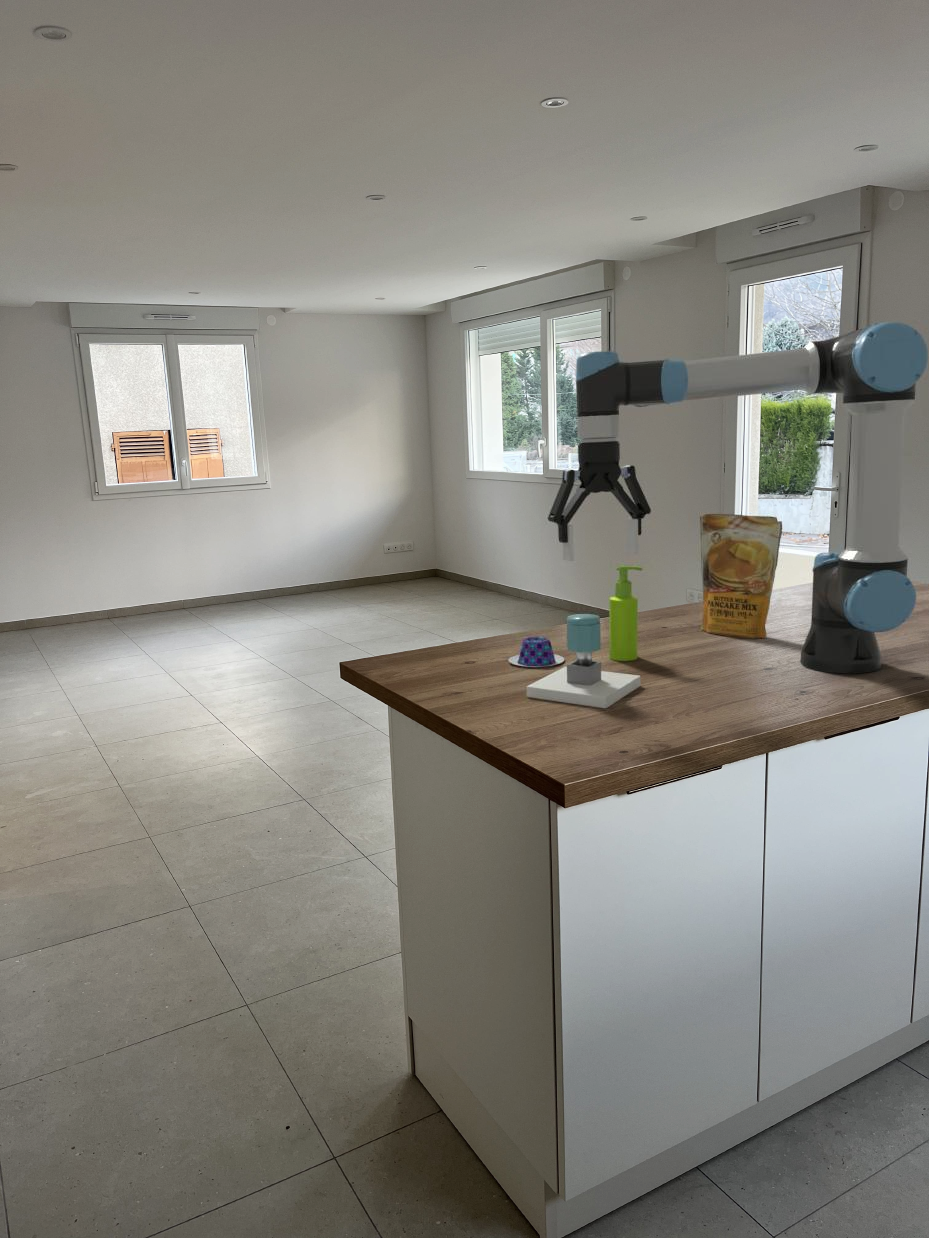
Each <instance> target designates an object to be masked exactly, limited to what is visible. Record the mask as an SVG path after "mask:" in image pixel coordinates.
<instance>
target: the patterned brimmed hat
mask: <svg viewBox="0 0 929 1238" xmlns="http://www.w3.org/2000/svg"><path fill="white" fill-rule="evenodd" d="M508 662H509V663H510V664H512V665H515V666H519V667H525V668H543V667H545V668H547V667H552V666H556V665H559V664H562V663H564V662H565V658H564V657H563V656H562V655H558V654H555V653H554V650H553V647H552V643H551V641H550V639H548V638H547V637H544V636H543V637H542V636H529V637H526V638H524V639H523V640H522V643H521V647H520V651H519V654H516V655H514V656H511V657H509V658H508Z"/></svg>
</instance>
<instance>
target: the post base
mask: <svg viewBox="0 0 929 1238" xmlns="http://www.w3.org/2000/svg"><path fill="white" fill-rule="evenodd" d="M639 687H641V675H637V674H630V673H628V674H627V673H621V672H611V671H605V670H602V661H598V660H592V665H591V666H589V667H588V666H580V665H576V659H575V660H573V661H571V662H569V663H567V664H566V666H563V667H561V668H560V669H558V670H556V671H554V672H552V673H550V674H549V675H546V676H544V677H542V678H541V679H538V680H536V681H535V682H534V681H533V683H531V684H529V685H526V697H527V698H531V699H532V698H533V699H539V700H546V701H553V702H559V703H565V704H566V703H567V704H573V705H579V706H587V707H592V708H599V709H600V708H601V709H607V708H609V707H610V706H612V705H614V704H615V703H617V702H618V701H620V700H621V699H623V698H624V697H625V696H627V695H629V694H630V693H632V692H633V691H635V690H636V689H638V688H639Z"/></svg>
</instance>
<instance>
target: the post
mask: <svg viewBox="0 0 929 1238" xmlns="http://www.w3.org/2000/svg"><path fill="white" fill-rule="evenodd" d="M575 660H576V665H580V666H588V667H589V666H591V665H592V661H593V652H578V653H577V652H575Z"/></svg>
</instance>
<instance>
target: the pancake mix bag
mask: <svg viewBox="0 0 929 1238" xmlns="http://www.w3.org/2000/svg"><path fill="white" fill-rule="evenodd" d="M699 519H700V521H699V522H700V526H699V527H700V548H701V549H700V558H701V559H700V560H701V561H700V563H701V564H700V565H701V568H700V569H701V577H702V601H703V610H702V621H701V626H700V630H702V631H704V632H706V633H708V634H713V635H720V636H721V635H722V636H726V637H727V636H728V637H735V638H736V637H737V638H742V639H750V640H751V639H752V640H755V639H756V640H757V639H767V629H766V624H767V619H768V616H769V615H768V614H769V611H770V604H771V599H772V593H773V588H774V587H773V586H774V584H775V583H774V582H775V577H776V569H777V566H778V561H779V552H780V544H781V543H780V542H781V538H782V535H783V521H780V520H779V521H778V519H777V516H771V515H770V516H769V515H767V516H764V515H762V516H761V515H745V514H744V515H743V514H729V513H726V514H725V513H706V514H704V515H701V516H699Z"/></svg>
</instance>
